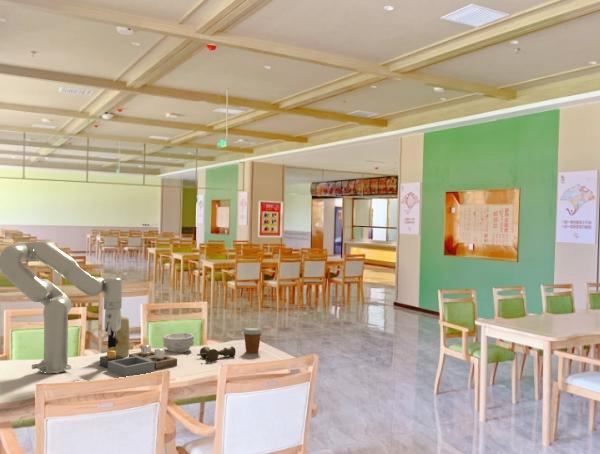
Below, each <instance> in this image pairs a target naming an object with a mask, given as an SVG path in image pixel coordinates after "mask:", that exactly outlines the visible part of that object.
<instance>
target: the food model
mask: <svg viewBox="0 0 600 454" xmlns="http://www.w3.org/2000/svg"><path fill="white" fill-rule="evenodd" d="M110 350H115V351H116V355H118V356H121V357H123V358H128V357H129V354H130V352H129V351H130V319H129V318H128V317H126V316H121V328H120V329H119V330H118V331H117V333H116V346H115V347H108V346H107V351H110Z"/></svg>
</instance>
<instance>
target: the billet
mask: <svg viewBox="0 0 600 454" xmlns="http://www.w3.org/2000/svg"><path fill="white" fill-rule="evenodd" d="M165 351H166V350H165V348H163V347H162V348H155V349H154V352H155V361H162V360H165V355H166V353H165Z"/></svg>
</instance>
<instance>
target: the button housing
mask: <svg viewBox="0 0 600 454" xmlns="http://www.w3.org/2000/svg"><path fill="white" fill-rule="evenodd" d="M118 359H123V357H121V356H118V355H116V358H111V359H109V358H107V355H103V356H102V355H101V356H100V357H99V367H101V368H105V369H106V370H108V361H112V360H118Z"/></svg>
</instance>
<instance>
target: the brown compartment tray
mask: <svg viewBox="0 0 600 454" xmlns="http://www.w3.org/2000/svg"><path fill="white" fill-rule="evenodd" d="M134 356H138V357H142V356H141V351H139V352H138V351H137V352H134V353H129V355H128V358H129V357H134ZM142 358H145V359H148V360H151V361H154V362H155V365H154V371H158V370H162V369H166V368H167V369H168V368H171V367H176V366H178V358H176V357H173V356H169V355H166V354H165V360H162V361H155V351H153V350H151V356H146V357H142Z"/></svg>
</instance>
